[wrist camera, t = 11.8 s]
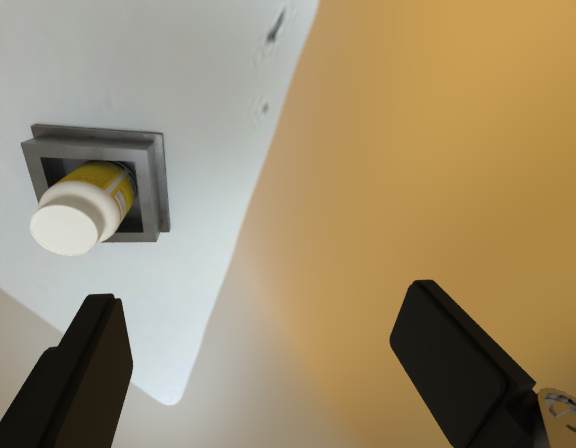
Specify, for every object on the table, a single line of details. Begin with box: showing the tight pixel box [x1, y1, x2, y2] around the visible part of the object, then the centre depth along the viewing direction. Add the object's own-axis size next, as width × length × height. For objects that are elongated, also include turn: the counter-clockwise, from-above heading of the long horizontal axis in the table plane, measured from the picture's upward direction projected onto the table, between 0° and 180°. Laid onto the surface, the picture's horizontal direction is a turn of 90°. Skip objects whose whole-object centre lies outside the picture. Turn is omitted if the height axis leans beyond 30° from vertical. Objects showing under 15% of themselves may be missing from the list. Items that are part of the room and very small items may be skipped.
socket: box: [21, 125, 170, 242], centre depth 32 cm, size 12×12×4 cm
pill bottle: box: [30, 160, 138, 256], centre depth 28 cm, size 6×6×11 cm
